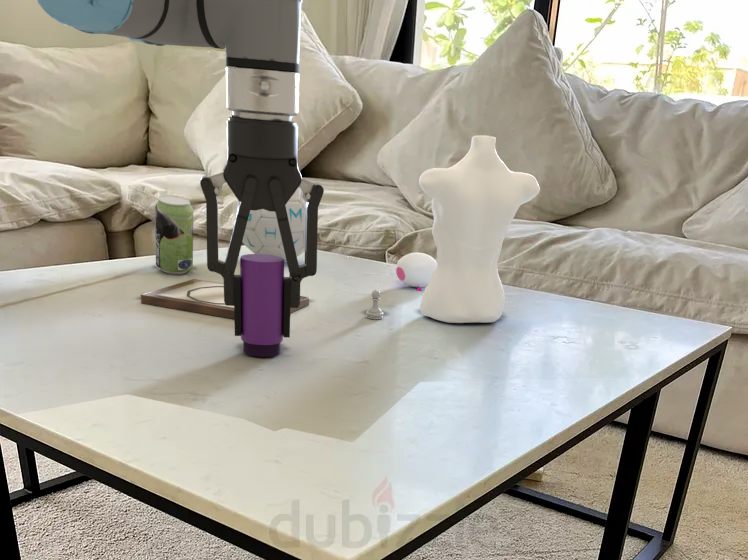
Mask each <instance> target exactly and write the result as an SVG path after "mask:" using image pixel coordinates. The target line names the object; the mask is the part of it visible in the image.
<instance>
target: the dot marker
mask: <svg viewBox="0 0 748 560" xmlns="http://www.w3.org/2000/svg"><path fill="white" fill-rule="evenodd" d="M239 275H240V278H241V336H240V340H241V341H242V345H243V346H242V347H243V353H244V354H246V355H248V356H252V357H259V358H268V357H270V358H271V357H276V356H278V355H279V354H280V353H281V343H282V342H283V341H284V337H283V300H284V277H285V262H284V259H283V258H282V257H279V256H275V255H268V254H255V253H248V254H243V255H241V256H239Z"/></svg>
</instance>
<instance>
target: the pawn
mask: <svg viewBox="0 0 748 560" xmlns="http://www.w3.org/2000/svg"><path fill="white" fill-rule="evenodd" d="M380 297H381V292H380V290H378V289H374V290H373V291H372V292H371V298H370V300H371V301H372V305H371V306H370V308H368V310H366V311H365V317H366V318H367V319H369V320H382V319H383V318H384V312H383V311H382V309H381V308H380V306H379V301H381V298H380Z"/></svg>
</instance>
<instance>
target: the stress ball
mask: <svg viewBox="0 0 748 560" xmlns="http://www.w3.org/2000/svg"><path fill="white" fill-rule="evenodd" d="M436 268H437V260H436V259H434V257H432V256H431V255H429V254H427V253H424V252H410V253H407V254H405V255H403V256H402V257H401V258H398V261H397V262H396V264H395V275H396V277H397V279H398V280H399V281H400V282H401V283H402V284H404V285H406V286H408V287H412V288H417V289H416V291H423V289H421V288H423V287H424V288H425V287H426V286H427V285H428V283H429V281H430V279H431V278H432V276H433V274H434V272H435V270H436Z"/></svg>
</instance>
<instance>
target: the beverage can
mask: <svg viewBox="0 0 748 560" xmlns="http://www.w3.org/2000/svg"><path fill="white" fill-rule="evenodd" d="M154 226H155V228H154V233H155V235H154V236H155V241H154V242H155V265H156V266H157V268H159V269H160V270H161V271H162V272H164V273H166V274H169V275H183V274H187V272H188V271H190V270H192V269H193V267H194V208H193V206H192V204H191V201H190V199H189V198H186V197H184V196H179V195H172V194H171V195H168V194H167V195H161V196H159V197H158V201H157V202H156V204H155V206H154Z"/></svg>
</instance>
